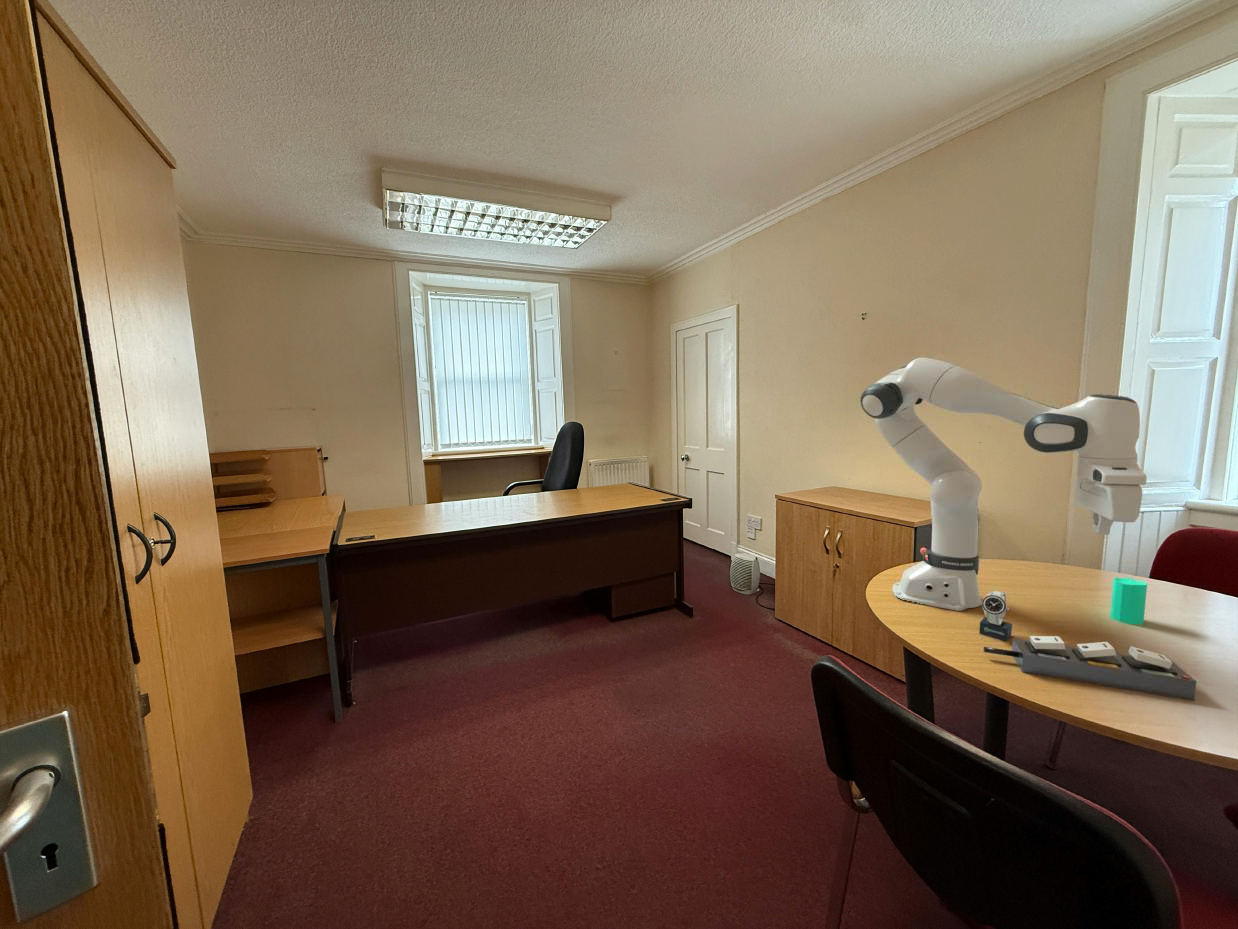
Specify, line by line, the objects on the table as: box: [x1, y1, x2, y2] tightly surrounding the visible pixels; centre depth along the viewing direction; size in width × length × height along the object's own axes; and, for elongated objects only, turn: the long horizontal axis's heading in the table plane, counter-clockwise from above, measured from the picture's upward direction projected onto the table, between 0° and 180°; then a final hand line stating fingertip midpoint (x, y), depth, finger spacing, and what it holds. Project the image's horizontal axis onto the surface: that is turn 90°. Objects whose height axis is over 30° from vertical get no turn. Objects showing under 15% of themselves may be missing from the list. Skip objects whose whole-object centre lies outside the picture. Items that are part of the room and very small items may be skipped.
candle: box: [1109, 574, 1148, 626], centre depth 124 cm, size 6×6×12 cm
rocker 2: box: [1076, 641, 1117, 658], centre depth 100 cm, size 5×3×2 cm, turn 63°
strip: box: [983, 637, 1197, 702], centre depth 102 cm, size 32×8×4 cm, turn 63°
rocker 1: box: [1029, 635, 1066, 649], centre depth 104 cm, size 5×3×2 cm, turn 63°
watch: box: [978, 590, 1013, 642], centre depth 119 cm, size 6×8×11 cm
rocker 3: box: [1128, 645, 1172, 669], centre depth 97 cm, size 5×3×2 cm, turn 63°
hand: (1100, 533), depth 104 cm, fingers closed
